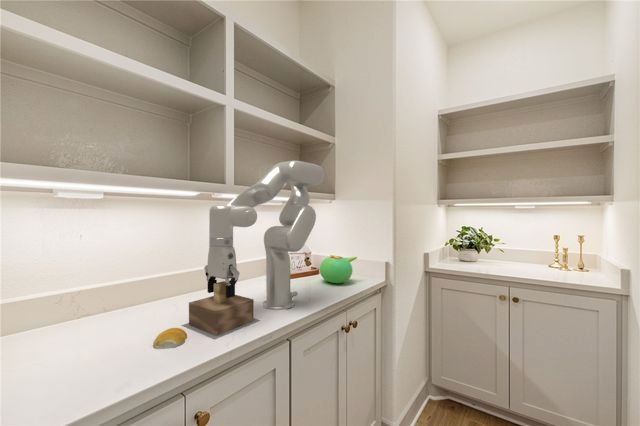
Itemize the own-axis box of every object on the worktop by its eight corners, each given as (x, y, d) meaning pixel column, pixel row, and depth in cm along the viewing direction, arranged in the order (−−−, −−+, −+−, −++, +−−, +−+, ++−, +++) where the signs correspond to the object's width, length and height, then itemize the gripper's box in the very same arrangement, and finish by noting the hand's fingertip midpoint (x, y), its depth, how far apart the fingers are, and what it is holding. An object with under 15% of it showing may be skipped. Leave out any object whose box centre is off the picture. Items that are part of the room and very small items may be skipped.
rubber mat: (227, 311, 110) (227, 310, 110) (260, 321, 100) (260, 320, 100) (181, 326, 95) (181, 325, 95) (214, 341, 85) (214, 339, 85)
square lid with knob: (226, 312, 108) (226, 276, 108) (253, 320, 99) (253, 281, 99) (188, 324, 96) (188, 284, 96) (216, 335, 87) (215, 291, 87)
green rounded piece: (313, 281, 156) (313, 254, 156) (337, 277, 166) (337, 251, 166) (335, 288, 142) (335, 258, 142) (360, 283, 152) (360, 255, 152)
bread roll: (189, 336, 89) (189, 322, 89) (182, 349, 80) (182, 335, 80) (159, 338, 87) (159, 325, 87) (148, 352, 78) (148, 338, 78)
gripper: (247, 243, 95) (247, 296, 95) (215, 240, 105) (215, 288, 105) (228, 245, 89) (227, 302, 89) (196, 242, 99) (195, 292, 99)
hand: (220, 294), depth 97 cm, fingers open, 9 cm apart
